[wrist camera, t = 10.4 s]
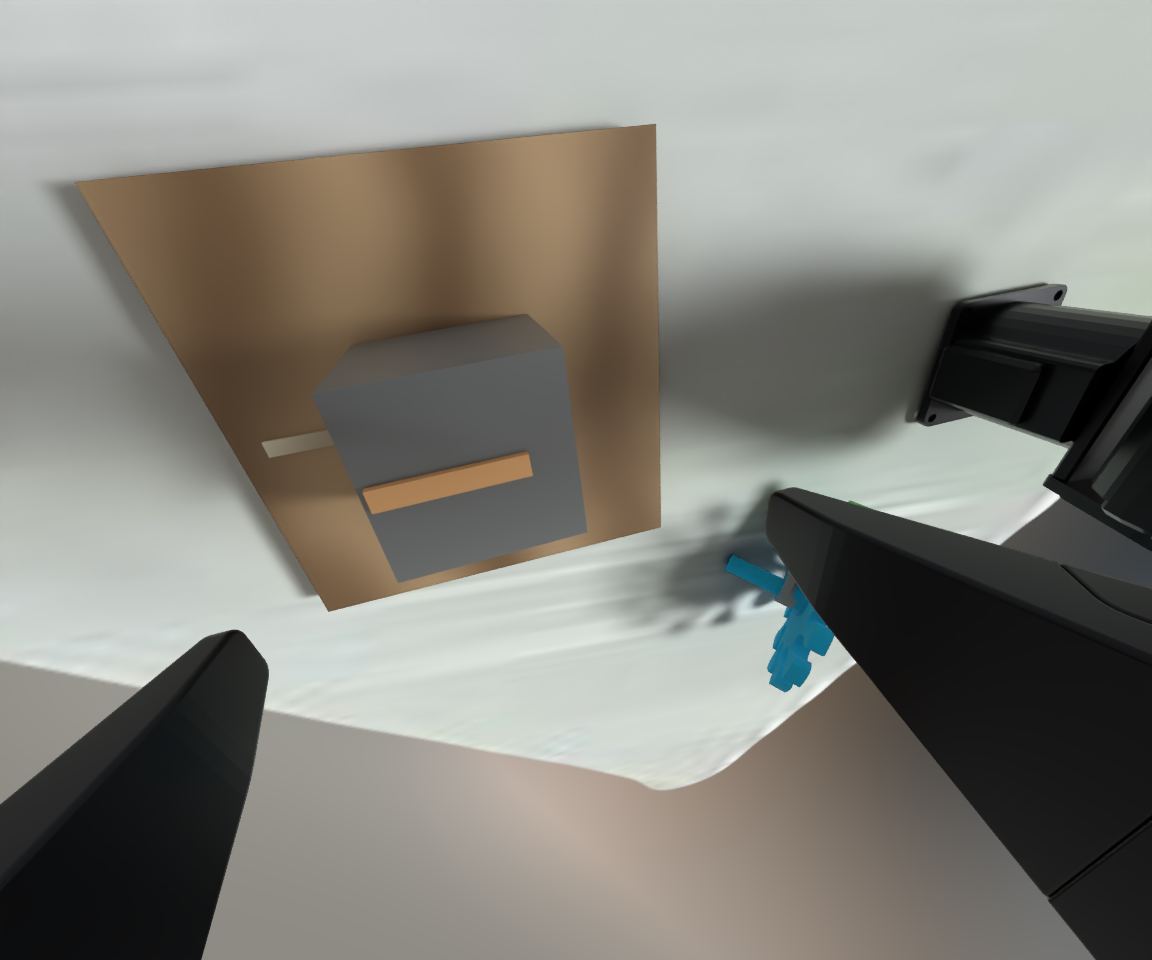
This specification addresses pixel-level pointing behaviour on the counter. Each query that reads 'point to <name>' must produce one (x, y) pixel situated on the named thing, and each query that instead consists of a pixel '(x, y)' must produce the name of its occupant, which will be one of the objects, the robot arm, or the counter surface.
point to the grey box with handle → (458, 442)
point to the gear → (788, 625)
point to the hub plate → (404, 309)
